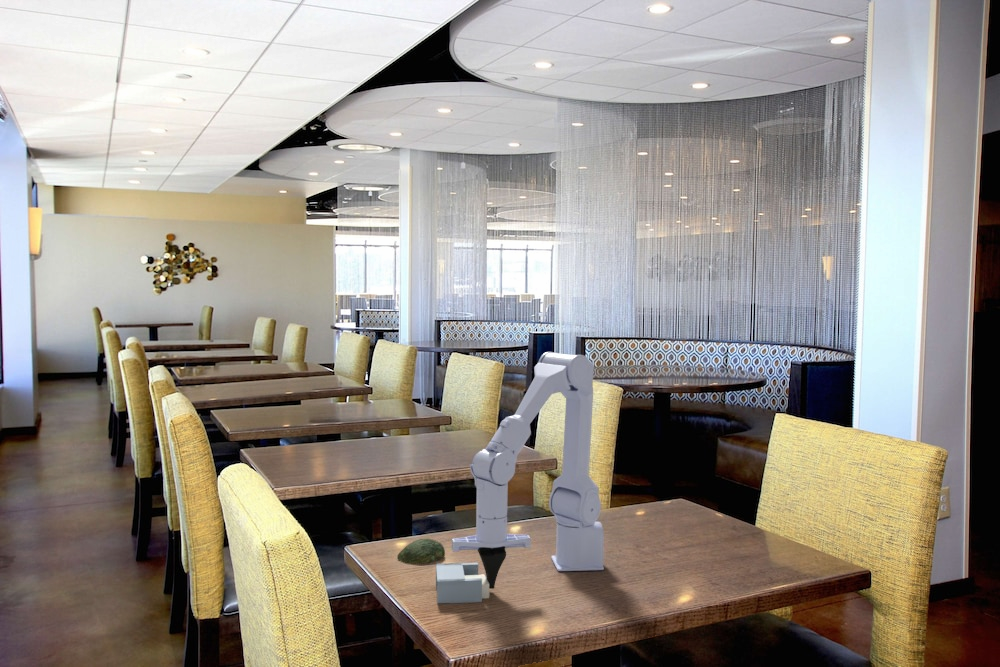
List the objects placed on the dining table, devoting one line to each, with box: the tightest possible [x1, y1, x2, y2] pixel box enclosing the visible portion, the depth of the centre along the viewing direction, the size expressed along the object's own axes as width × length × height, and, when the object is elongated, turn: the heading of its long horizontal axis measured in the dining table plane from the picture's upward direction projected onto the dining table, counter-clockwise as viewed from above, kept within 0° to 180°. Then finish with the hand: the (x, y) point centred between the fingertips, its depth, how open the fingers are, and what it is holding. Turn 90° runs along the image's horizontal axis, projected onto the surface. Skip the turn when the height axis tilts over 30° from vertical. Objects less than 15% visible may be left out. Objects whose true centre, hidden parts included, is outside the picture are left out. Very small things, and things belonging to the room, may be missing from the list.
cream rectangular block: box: [464, 573, 490, 599], centre depth 143 cm, size 8×5×3 cm, turn 102°
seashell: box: [397, 538, 446, 565], centre depth 163 cm, size 10×4×10 cm
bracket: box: [435, 562, 483, 604], centre depth 144 cm, size 8×9×4 cm
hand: (490, 586), depth 144 cm, fingers closed
